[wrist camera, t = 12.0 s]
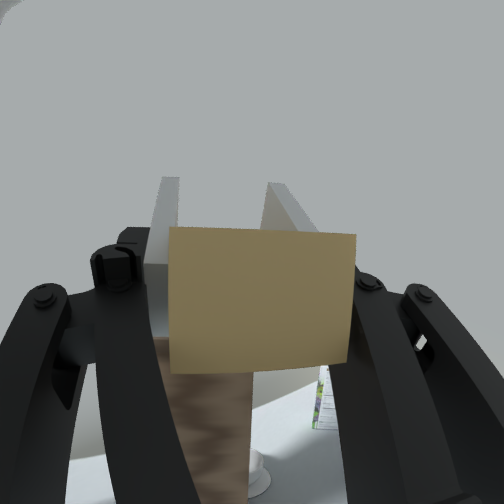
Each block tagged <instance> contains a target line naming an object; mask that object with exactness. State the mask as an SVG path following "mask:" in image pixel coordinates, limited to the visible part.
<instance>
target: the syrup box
mask: <svg viewBox="0 0 504 504" xmlns="http://www.w3.org/2000/svg"><path fill="white" fill-rule="evenodd" d="M312 428H313V429H328V430H338V423H337V416H336V410H335V404H334V397H333V391H332V385H331V379H330V373H329V368H328V365H323V366H321V367H320V373H319V379H318V385H317V392H316V400H315V407H314V414H313V422H312Z"/></svg>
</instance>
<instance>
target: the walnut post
mask: <svg viewBox="0 0 504 504" xmlns="http://www.w3.org/2000/svg"><path fill="white" fill-rule="evenodd" d="M153 340H154V345H155V350H156V354H157V359H158V363H159V367H160V371H161V376H162V380H163V384H164V388H165V391H166V395H167V399H168V403H169V406H170V410H171V414H172V417H173V421H174V424H175V428H176V431H177V434H178V438H179V441H180V444H181V447H182V450H183V453H184V457H185V460H186V463H187V466H188V468H189V471H190V474H191V477H192V480H193V483H194V486H195V488H196V491H197V494H198V496H199V499H200V502H201V504H248V486H249V464H250V442H251V419H252V395H253V393H252V392H253V372H242V373H217V374H171V372H170V351H169V337H153Z"/></svg>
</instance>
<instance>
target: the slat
mask: <svg viewBox="0 0 504 504" xmlns="http://www.w3.org/2000/svg"><path fill="white" fill-rule="evenodd" d="M355 256H356V234H341V233H323V232H322V233H321V232H303V231H281V230H258V229H231V228H202V227H169V256H168V317H169V351H170V372H171V374H217V373H242V372H258V371H272V370H285V369H296V368H305V367H315V366H323V365H331V364H339V363H346V361H347V353H348V345H349V336H350V326H351V315H352V304H353V291H354V276H355Z"/></svg>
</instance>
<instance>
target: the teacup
mask: <svg viewBox="0 0 504 504" xmlns="http://www.w3.org/2000/svg"><path fill="white" fill-rule="evenodd" d="M263 465H264V458H263V456H262V455H261V453H259V452H258V451H257V450H255V449H252V448H250V464H249V486H248V498H252V497H255V496H257V495H260V494H261V493H263V492H264V491H265V490H267V488H268V487H269V485H270V483H271V476H270V474H269V472H268V471H267V470H266V469H265V468H264V467H263Z"/></svg>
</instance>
